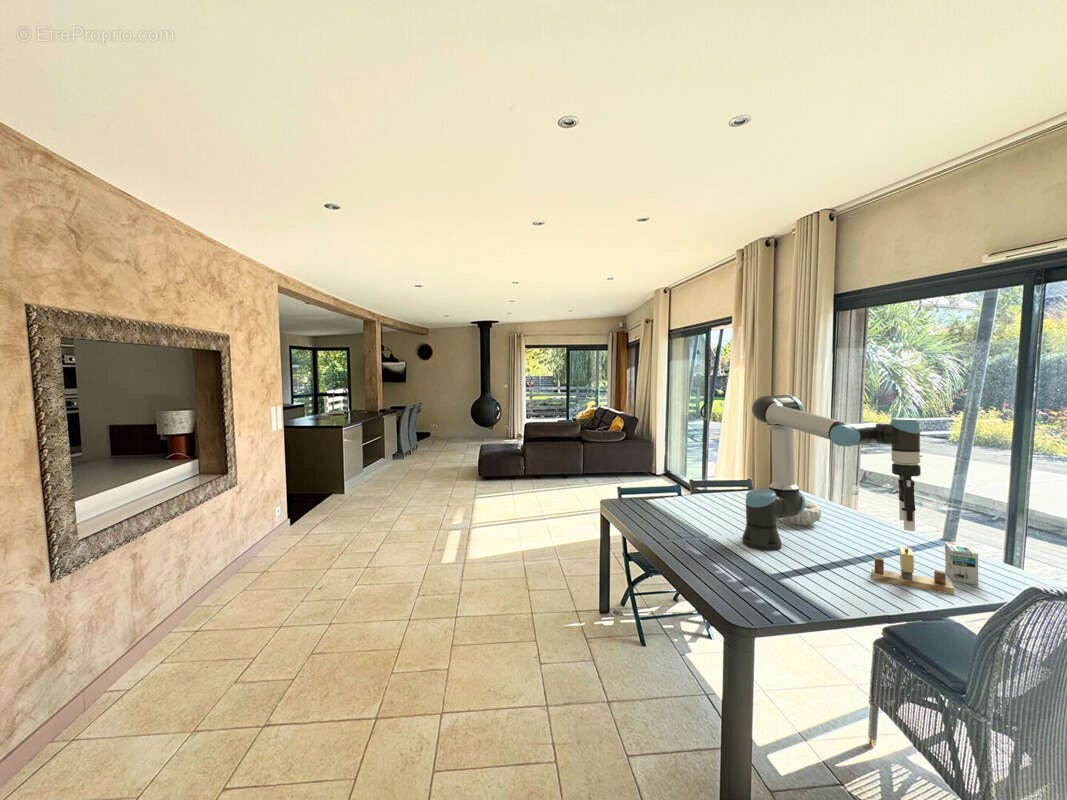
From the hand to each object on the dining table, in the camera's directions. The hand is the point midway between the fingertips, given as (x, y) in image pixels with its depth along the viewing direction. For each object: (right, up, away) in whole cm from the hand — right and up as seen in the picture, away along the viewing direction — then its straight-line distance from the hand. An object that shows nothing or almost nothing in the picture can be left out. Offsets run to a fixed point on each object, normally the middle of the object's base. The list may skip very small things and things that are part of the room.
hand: (906, 525), depth 152 cm
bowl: (+4, -19, +69) cm, 72 cm away
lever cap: (0, -15, 0) cm, 15 cm away
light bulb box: (+22, -20, +4) cm, 30 cm away
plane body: (+1, -20, 0) cm, 20 cm away
